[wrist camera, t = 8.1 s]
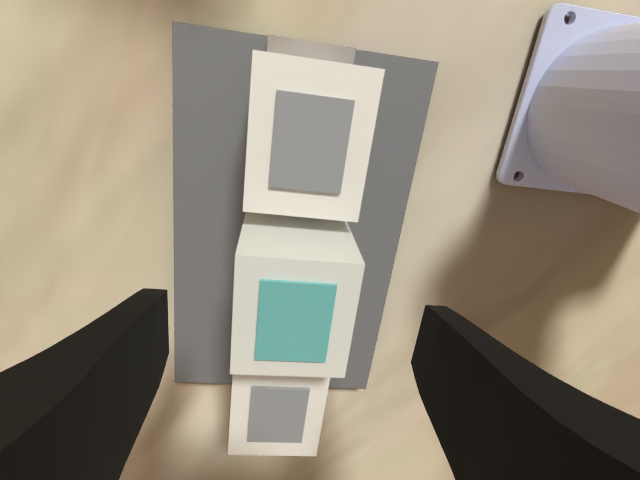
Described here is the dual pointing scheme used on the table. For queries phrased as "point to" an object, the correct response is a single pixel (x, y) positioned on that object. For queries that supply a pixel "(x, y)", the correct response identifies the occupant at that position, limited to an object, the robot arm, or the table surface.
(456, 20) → the table surface
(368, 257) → the board
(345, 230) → the block
